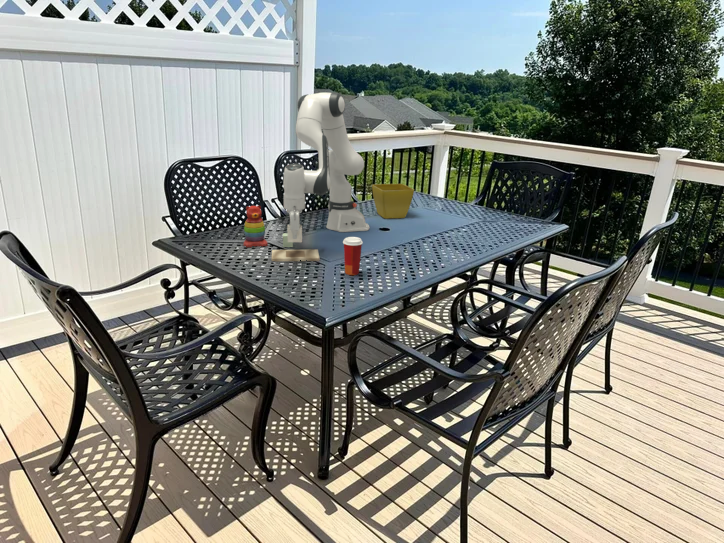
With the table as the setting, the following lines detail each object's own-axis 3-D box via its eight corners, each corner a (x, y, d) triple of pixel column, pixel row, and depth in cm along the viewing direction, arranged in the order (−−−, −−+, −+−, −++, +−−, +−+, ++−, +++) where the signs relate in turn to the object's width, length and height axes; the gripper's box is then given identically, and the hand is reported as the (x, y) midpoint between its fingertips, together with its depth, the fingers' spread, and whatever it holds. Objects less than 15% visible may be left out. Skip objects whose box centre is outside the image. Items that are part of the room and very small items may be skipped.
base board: (317, 251, 228) (317, 249, 228) (319, 260, 217) (319, 257, 216) (272, 252, 225) (272, 249, 225) (271, 261, 214) (271, 258, 214)
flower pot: (370, 212, 300) (371, 184, 294) (400, 211, 305) (402, 183, 299) (381, 220, 283) (382, 190, 277) (412, 219, 288) (414, 189, 282)
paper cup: (361, 269, 209) (362, 236, 204) (361, 276, 201) (363, 242, 196) (342, 269, 208) (342, 236, 203) (342, 276, 201) (342, 241, 196)
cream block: (301, 238, 222) (301, 224, 220) (301, 242, 216) (301, 228, 214) (287, 238, 221) (287, 224, 219) (287, 242, 215) (287, 228, 213)
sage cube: (293, 244, 237) (292, 233, 235) (293, 247, 233) (292, 236, 231) (283, 244, 236) (282, 233, 234) (283, 247, 232) (282, 236, 230)
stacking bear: (243, 247, 230) (242, 209, 224) (242, 241, 239) (240, 203, 233) (268, 246, 233) (266, 208, 227) (266, 240, 242) (264, 203, 236)
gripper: (302, 209, 204) (302, 243, 209) (301, 198, 223) (301, 229, 228) (286, 209, 203) (287, 243, 208) (286, 198, 222) (287, 229, 227)
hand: (294, 235), depth 218 cm, fingers closed on cream block, 6 cm apart
